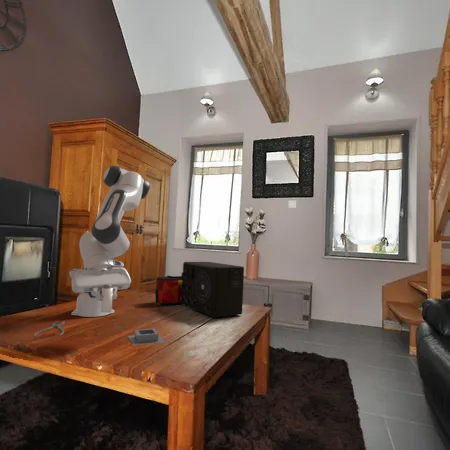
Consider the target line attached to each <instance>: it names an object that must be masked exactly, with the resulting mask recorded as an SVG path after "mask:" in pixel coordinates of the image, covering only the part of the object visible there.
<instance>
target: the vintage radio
mask: <svg viewBox="0 0 450 450" xmlns="http://www.w3.org/2000/svg"><path fill="white" fill-rule="evenodd" d="M182 265H183V266H182V272H181V275H180V276H183V279H182V284H181V288H182V297H180V300H181V304H183V305H182V306H184V308H185V307H186V308H190V309H193V310H195V311H198V312H201V313H203V314H204V315H208V316H210V317H211V318H212V319H217V318H222V317H228V316H231V317H232V315H236V316H237V315H242V314H243V306H244V304H243V303H244V302H243V301H244V299H243V297H244V279H245V278H244V277H245V276H244V275H245V267H244V266H241V265H233V264H228V263H227V264H226V263H220V262H212V261H184V262H183V264H182Z"/></svg>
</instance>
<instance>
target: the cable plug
mask: <svg viewBox="0 0 450 450" xmlns="http://www.w3.org/2000/svg"><path fill="white" fill-rule="evenodd" d="M102 295H103V299H102V301H101V312H103V313H107V312H111V311H112V309H113V299H112V295H113V288H111V284H104V288H102Z"/></svg>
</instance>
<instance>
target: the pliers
mask: <svg viewBox="0 0 450 450" xmlns="http://www.w3.org/2000/svg"><path fill="white" fill-rule="evenodd" d="M64 325H65V320H63V321H62V322H60V323H58V320H57V321H55V322H54V323H52V325H50V327H47V328H44V329H40V330H39V331H36V332H35V333H34V334H33V337H36V336H37V335H38V334H39V333H42V332H45V331H48V330H52V329H54V328H57V330H59V331H60V332H61V333H59V334H58V336H62V335H63V334H64V333H65V330H64V329H63V326H64Z"/></svg>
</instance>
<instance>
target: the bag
mask: <svg viewBox="0 0 450 450" xmlns="http://www.w3.org/2000/svg"><path fill="white" fill-rule="evenodd" d="M182 279H183V276H182V275H179V276H178V275H176V276H175V275H174V276H173V275H167V276H157V277H156V279H155V280H156V281H155V283H156V284H155V291H154V295H155V297H154V298H155V299H154V305H155V304H156V305H155V306H158V305H160V306H159V307H177V305H179V306H184V305H183V304H181V300H180V297H182V288H181V284H182Z"/></svg>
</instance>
